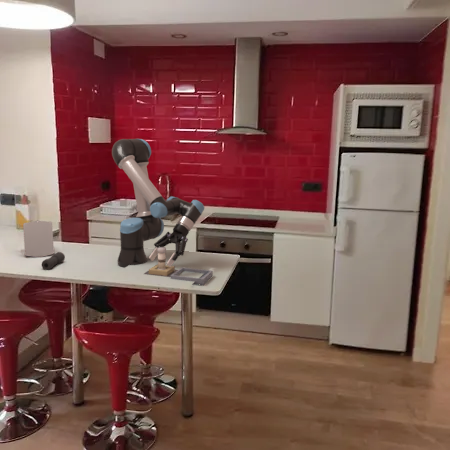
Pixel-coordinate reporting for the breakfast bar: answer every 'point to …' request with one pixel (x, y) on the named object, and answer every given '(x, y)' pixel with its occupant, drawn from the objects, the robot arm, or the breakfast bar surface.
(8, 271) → the breakfast bar surface
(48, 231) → the electrical switch box
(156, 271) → the yellow rectangular tray
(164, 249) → the fuse
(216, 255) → the breakfast bar surface
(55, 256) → the flashlight
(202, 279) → the grey rectangular frame
